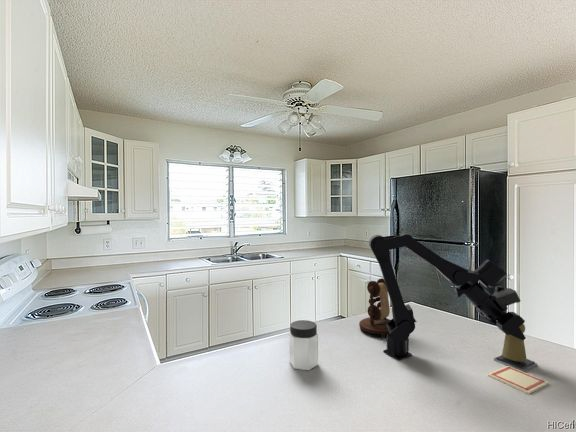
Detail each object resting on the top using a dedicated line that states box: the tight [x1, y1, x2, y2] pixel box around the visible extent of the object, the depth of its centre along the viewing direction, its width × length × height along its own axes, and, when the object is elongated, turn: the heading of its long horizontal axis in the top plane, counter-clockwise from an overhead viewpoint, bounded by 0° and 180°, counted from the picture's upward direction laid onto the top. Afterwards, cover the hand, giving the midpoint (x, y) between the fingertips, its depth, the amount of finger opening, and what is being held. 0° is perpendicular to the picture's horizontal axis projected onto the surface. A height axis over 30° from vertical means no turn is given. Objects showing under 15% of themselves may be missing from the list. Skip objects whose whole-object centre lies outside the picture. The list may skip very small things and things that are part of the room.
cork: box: [501, 323, 528, 362], centre depth 94 cm, size 6×6×11 cm
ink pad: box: [493, 354, 538, 372], centre depth 94 cm, size 8×8×1 cm
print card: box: [487, 365, 550, 395], centre depth 84 cm, size 10×10×1 cm
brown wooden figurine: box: [358, 277, 391, 338], centre depth 120 cm, size 15×15×20 cm
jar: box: [288, 319, 319, 371], centre depth 94 cm, size 9×8×12 cm
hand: (519, 335), depth 94 cm, fingers closed on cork, 5 cm apart
